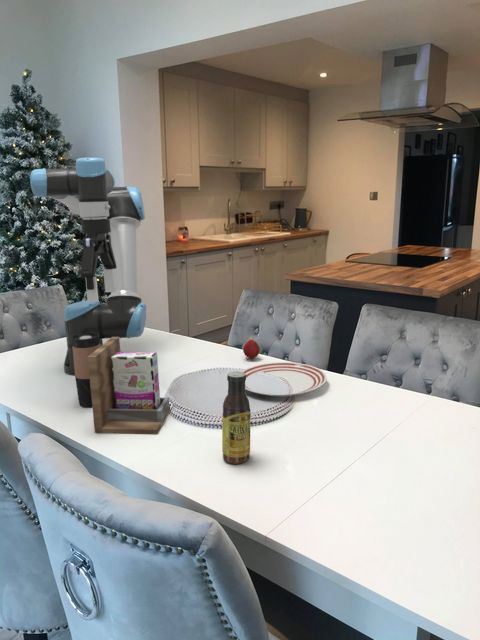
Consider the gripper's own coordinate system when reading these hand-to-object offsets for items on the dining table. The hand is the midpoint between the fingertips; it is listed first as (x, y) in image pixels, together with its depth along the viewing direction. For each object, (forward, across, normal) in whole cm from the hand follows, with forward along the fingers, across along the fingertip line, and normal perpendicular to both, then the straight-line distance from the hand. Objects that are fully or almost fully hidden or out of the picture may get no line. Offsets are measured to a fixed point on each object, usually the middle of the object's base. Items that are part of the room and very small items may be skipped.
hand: (102, 296), depth 145 cm
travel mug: (+31, -2, +5) cm, 31 cm away
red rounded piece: (+31, +39, -38) cm, 63 cm away
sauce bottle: (+31, -32, -40) cm, 60 cm away
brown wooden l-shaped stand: (+31, -12, -11) cm, 35 cm away
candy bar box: (+30, -11, -12) cm, 34 cm away
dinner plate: (+31, +14, -49) cm, 60 cm away
